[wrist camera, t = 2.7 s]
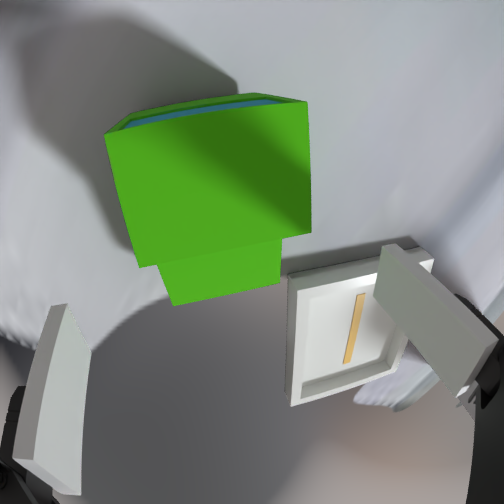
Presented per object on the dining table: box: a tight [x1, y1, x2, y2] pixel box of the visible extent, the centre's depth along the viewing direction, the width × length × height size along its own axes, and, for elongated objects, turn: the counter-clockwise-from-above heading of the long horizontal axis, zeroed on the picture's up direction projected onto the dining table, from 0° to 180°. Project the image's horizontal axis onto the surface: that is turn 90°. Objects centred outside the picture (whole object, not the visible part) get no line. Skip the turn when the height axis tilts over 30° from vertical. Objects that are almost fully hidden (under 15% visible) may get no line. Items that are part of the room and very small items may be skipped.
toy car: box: [104, 93, 311, 306], centre depth 19 cm, size 10×13×10 cm
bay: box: [285, 247, 435, 406], centre depth 34 cm, size 18×15×2 cm
